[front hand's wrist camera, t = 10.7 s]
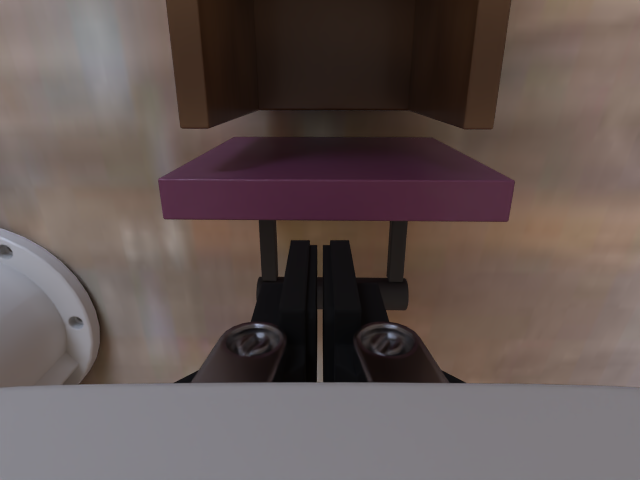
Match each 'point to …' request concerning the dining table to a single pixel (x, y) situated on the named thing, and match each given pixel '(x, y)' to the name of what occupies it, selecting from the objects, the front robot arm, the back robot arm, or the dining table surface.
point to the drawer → (337, 94)
